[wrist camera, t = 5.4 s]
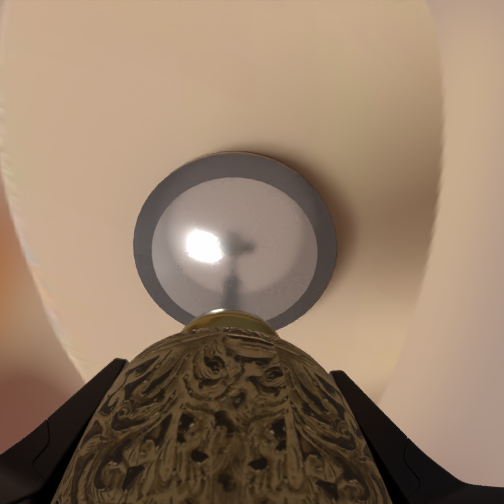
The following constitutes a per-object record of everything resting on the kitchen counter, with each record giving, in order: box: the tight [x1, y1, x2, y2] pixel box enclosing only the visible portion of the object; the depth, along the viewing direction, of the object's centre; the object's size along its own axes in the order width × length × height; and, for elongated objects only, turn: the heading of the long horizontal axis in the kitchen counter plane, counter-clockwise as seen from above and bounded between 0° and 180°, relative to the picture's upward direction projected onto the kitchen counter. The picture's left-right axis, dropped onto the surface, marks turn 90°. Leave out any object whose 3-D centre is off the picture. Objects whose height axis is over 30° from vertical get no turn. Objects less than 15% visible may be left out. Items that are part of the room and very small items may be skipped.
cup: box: [50, 308, 392, 504], centre depth 6 cm, size 8×7×8 cm
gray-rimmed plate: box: [133, 151, 337, 331], centre depth 15 cm, size 11×11×1 cm
